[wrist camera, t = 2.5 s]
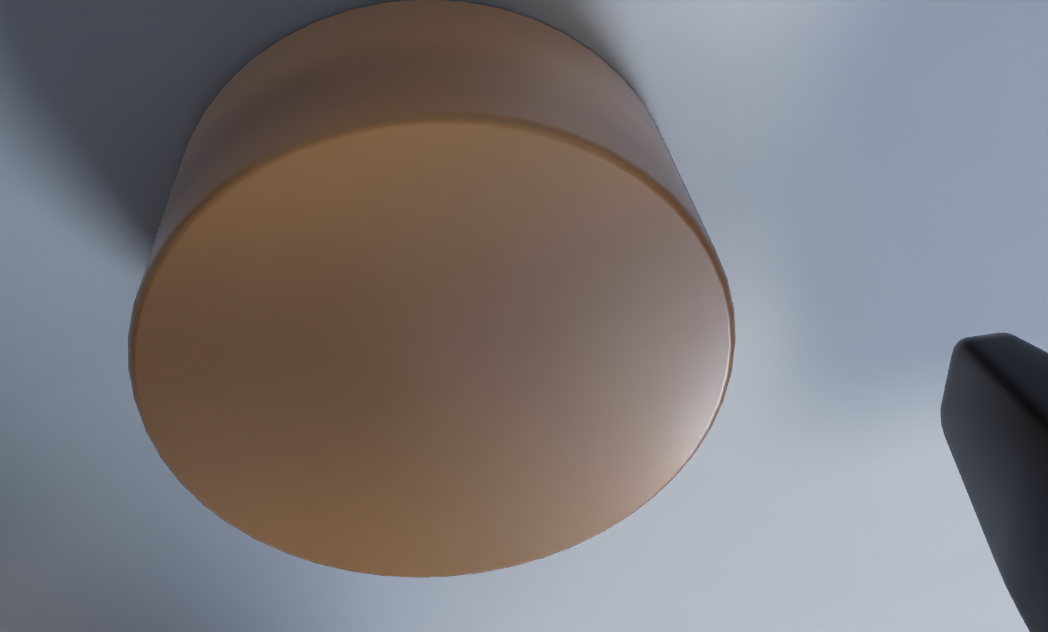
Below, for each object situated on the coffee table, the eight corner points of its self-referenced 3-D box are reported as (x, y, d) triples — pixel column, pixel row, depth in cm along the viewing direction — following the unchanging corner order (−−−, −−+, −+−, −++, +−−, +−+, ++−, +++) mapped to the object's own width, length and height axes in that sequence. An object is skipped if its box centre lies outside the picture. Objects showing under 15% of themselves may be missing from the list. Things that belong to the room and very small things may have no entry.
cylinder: (678, 386, 13) (730, 537, 11) (253, 449, 13) (229, 615, 11) (673, -42, 10) (748, 65, 8) (96, 41, 9) (18, 171, 7)
